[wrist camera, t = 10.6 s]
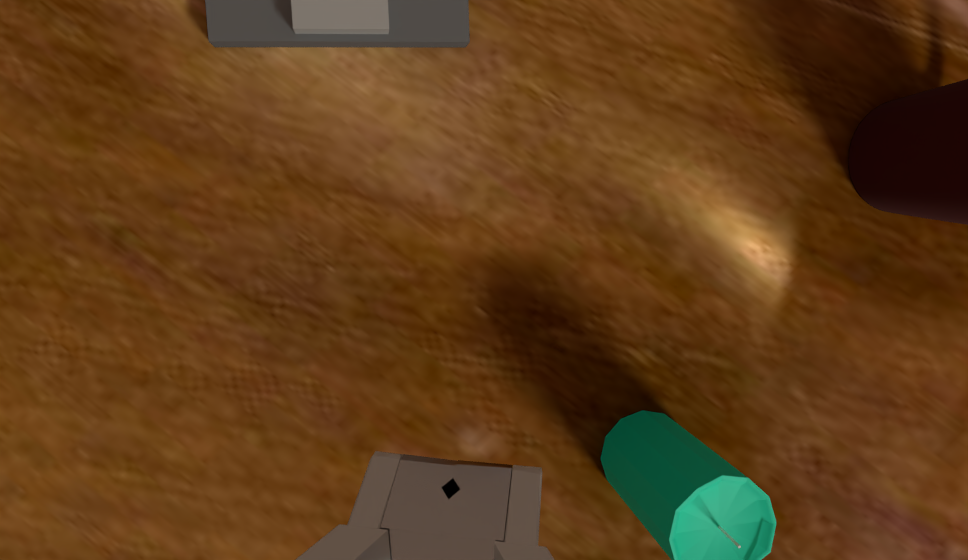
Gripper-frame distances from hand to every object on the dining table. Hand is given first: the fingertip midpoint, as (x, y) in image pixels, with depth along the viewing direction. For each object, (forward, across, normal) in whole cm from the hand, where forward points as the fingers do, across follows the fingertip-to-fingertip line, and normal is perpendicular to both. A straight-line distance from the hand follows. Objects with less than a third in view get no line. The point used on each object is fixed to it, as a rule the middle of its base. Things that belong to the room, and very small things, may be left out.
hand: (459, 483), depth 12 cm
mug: (+38, +25, -6) cm, 46 cm away
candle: (+25, +8, -24) cm, 36 cm away
